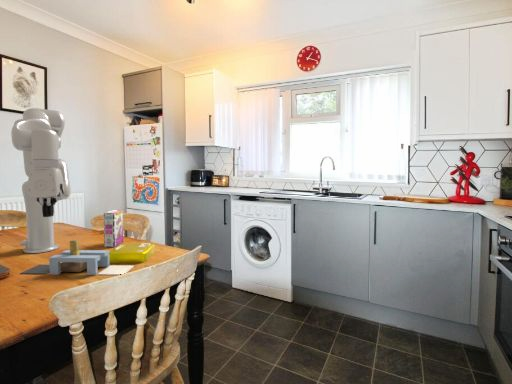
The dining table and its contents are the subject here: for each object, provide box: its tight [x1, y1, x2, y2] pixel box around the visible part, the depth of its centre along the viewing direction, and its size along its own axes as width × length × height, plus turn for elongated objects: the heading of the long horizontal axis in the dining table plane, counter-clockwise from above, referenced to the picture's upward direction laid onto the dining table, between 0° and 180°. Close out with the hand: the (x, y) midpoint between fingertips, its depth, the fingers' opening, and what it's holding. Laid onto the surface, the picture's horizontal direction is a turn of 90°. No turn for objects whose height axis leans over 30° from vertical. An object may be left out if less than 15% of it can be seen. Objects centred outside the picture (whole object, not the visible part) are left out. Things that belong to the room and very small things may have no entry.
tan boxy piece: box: [60, 239, 87, 273], centre depth 104 cm, size 7×6×11 cm
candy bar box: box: [103, 209, 124, 248], centre depth 139 cm, size 11×5×16 cm, turn 5°
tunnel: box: [48, 249, 111, 276], centre depth 104 cm, size 16×9×6 cm, turn 90°
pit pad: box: [19, 263, 50, 275], centre depth 104 cm, size 9×9×1 cm
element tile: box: [109, 242, 156, 264], centre depth 120 cm, size 15×15×5 cm
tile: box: [97, 264, 135, 276], centre depth 104 cm, size 9×9×1 cm
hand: (48, 216), depth 102 cm, fingers closed
